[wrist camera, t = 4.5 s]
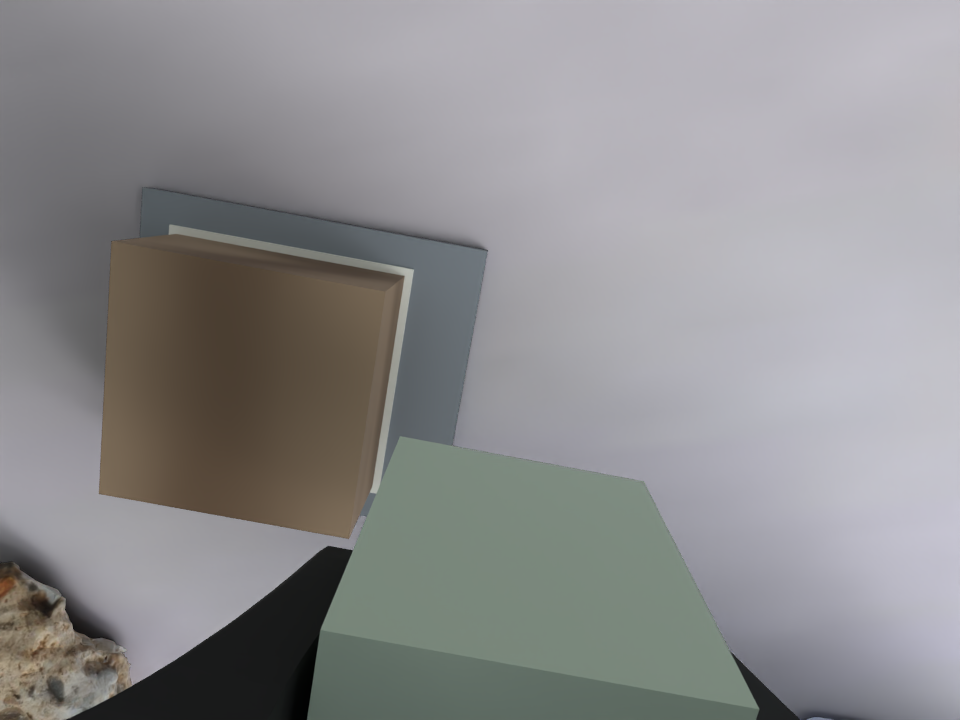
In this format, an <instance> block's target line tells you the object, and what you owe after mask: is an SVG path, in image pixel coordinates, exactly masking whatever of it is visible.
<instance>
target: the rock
mask: <svg viewBox="0 0 960 720" xmlns="http://www.w3.org/2000/svg"><path fill="white" fill-rule="evenodd" d="M65 603H66V598H64V597H62V596H61V594H60V592H59V591H58V590H57V589H55V588H53V587H50V586H47V585H45V584H42V583H39V582H38V581H36V580H34V579H32V578H31V577H30V576H28V575H27V574H26V573H24V572H23V571H21V570H20V569H19V566H18V565H17V564H15V563H14V562H7V563H0V720H66V719H68V718H70V717H73V716H75V715H77V714H79V713H81V712H83V711H85V710H87V709H90V708H92V707H94V706H96V705H98V704H99V703H101V702H103V701H105V700H107V699H109V698H111V697H113V696H115V695H116V694H118V693H120V692H122V691H124V690H125V689H127V688H129V687H131V686H132V683H131V680H130V672H129V669H130V665H131V664H130V663H128V661H127V658H126V657H125V656H124V654H122V653H121V652H125V651H126V649H125V648H123V647H121V646H119V645H118V646H117V645H116V644H115V642H114V641H111V640H108V639H104V638H97V639H91V638H88V637H87V636H86V635H84V634H81V633H78V632H76V631H75V630H73V626H72V623H71V622H70V621H69V616H68V615H67V613H66V611H65Z"/></svg>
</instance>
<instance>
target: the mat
mask: <svg viewBox="0 0 960 720" xmlns="http://www.w3.org/2000/svg"><path fill="white" fill-rule="evenodd" d="M170 234H180V235H186V236H191V237H197V238H202V239H207V240H213V241H218V242H224V243H229V244H234V245H240V246H245V247H251V248H256V249H262V250H267V251H272V252H278V253H283V254H289V255H294V256H299V257H305V258H310V259H316V260H321V261H326V262H332V263H337V264H343V265H348V266H354V267H359V268H364V269H370V270H375V271H381V272H386V273H391V274H397V275H402V276H405V278H404V284H403V291H402V297H401V304H400V310H399V317H398V323H397V330H396V336H395V343H394V349H393V356H392V362H391V369H390V375H389V382H388V388H387V394H386V401H385V407H384V414H383V420H382V427H381V433H380V440H379V446H378V453H377V459H376V466H375V472H374V479H373V485H372V488H371V490H370V493H369V495H368V497H367V499H366V502H365V504H364V506H363V508H362V511H361V513H360V515H361V516H367V515H368V513H369V511H370V508H371V506H372V503H373V501H374V498H375V496H376V494H377V491H378V489H379V486H380V484H381V481H382V479H383V476H384V474H385V472H386V469H387V467H388V464H389V462H390V459H391V457H392V455H393V452H394V450H395V447H396V445H397V442H398V440H399V438H400V436H402V437H407V438H413V439H418V440H423V441H429V442H434V443H440V444H445V445H450V446H452V444H453V439H454V433H455V428H456V422H457V417H458V411H459V406H460V400H461V395H462V389H463V384H464V378H465V373H466V367H467V362H468V356H469V351H470V345H471V340H472V334H473V329H474V323H475V318H476V312H477V307H478V301H479V296H480V290H481V285H482V279H483V274H484V268H485V263H486V257H487V252H488V250H484V249H478V248H473V247H467V246H462V245H457V244H451V243H446V242H440V241H435V240H430V239H424V238H419V237H413V236H408V235H403V234H397V233H392V232H386V231H381V230H376V229H370V228H365V227H360V226H354V225H349V224H343V223H338V222H333V221H327V220H322V219H316V218H311V217H306V216H300V215H295V214H289V213H284V212H279V211H273V210H268V209H262V208H257V207H252V206H246V205H241V204H236V203H230V202H225V201H219V200H214V199H209V198H203V197H198V196H192V195H187V194H182V193H176V192H171V191H165V190H160V189H155V188H143V189H142V205H141V222H140V238H144V237H153V236H161V235H170Z"/></svg>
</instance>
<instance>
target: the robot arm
mask: <svg viewBox="0 0 960 720" xmlns="http://www.w3.org/2000/svg"><path fill="white" fill-rule="evenodd" d="M352 552H353V550H348V549H342V548H337V547H331V546H327V547H326V548H324V549H322V550H321V551H319V552H318V553H317V554H316V555H315V556H314V557H312V558H311V559H310V560H309V561H308V562H307V563H305V564H304V565H303V566H302V567H301V568H300V569H298V570H297V571H296V572H295V573H294V574H292V575H291V576H290V577H289V578H288V579H286V580H285V581H284V582H283V583H282V584H280V585H279V586H278V587H277V588H275V589H274V590H273V591H272V592H270V593H269V594H268V595H266V596H265V597H264V598H263V599H261V600H260V601H259V602H257V603H256V604H255V605H253V606H252V607H251V608H249V609H248V610H247V611H246V612H244V613H243V614H242V615H240V616H239V617H238V618H236V619H235V620H234V621H232V622H231V623H229V624H228V625H227V626H225V627H224V628H222V629H221V630H219V631H218V632H216V633H215V634H213V635H212V636H210V637H209V638H208V639H206V640H205V641H203V642H202V643H200V644H199V645H197V646H196V647H194V648H193V649H191V650H190V651H188V652H187V653H185V654H184V655H182V656H181V657H179V658H178V659H176V660H175V661H173V662H171V663H170V664H168V665H167V666H165V667H163V668H162V669H160V670H158V671H157V672H155V673H153V674H152V675H150V676H148V677H147V678H145V679H143V680H142V681H140V682H138V683H136V684H134V685H133V686H131V687H129V688H127V689H125V690H124V691H122V692H120V693H118V694H116V695H115V696H113V697H111V698H109V699H107V700H105V701H103V702H101V703H99V704H98V705H96V706H94V707H92V708H90V709H87V710H85V711H83V712H81V713H79V714H77V715H75V716H73V717H70V718H68V719H66V720H307V716H308V709H309V703H310V696H311V689H312V683H313V676H314V669H315V663H316V656H317V649H318V643H319V636H320V630H321V627H322V625H323V622H324V620H325V618H326V615H327V613H328V610H329V608H330V605H331V603H332V601H333V598H334V596H335V593H336V591H337V588H338V586H339V584H340V581H341V579H342V576H343V574H344V571H345V569H346V566H347V564H348V562H349V559H350V557H351V554H352ZM731 654H732V653H731ZM732 656H733V658H734V660H735V662H736V664H737V666H738V668H739V670H740V672H741V674H742V676H743V678H744V680H745V682H746V684H747V686H748V688H749V690H750V692H751V694H752V696H753V698H754V700H755V702H756V704H757V705H758V707H759V712H758V715H757V718H756V720H800V719H799V718H798V717H797V716H796V715H795V714H794V713H793V712H791V711H790V710H789V709H788V708H787V707H786V706H785V705H784V704H783V703H782V702H781V701H780V700H779V699H778V698H777V697H776V696H775V695H774V694H773V693H772V692H771V691H770V690H769V689H768V688H767V687H766V686H765V685H764V684H763V683H762V682H761V681H760V680H759V679H758V678H757V677H756V676H755V675H754V674H753V673H751V672H750V671H749V670H748V669H747V668H746V667H745V666H744V665H743V664H742V663H741V662H740V661H739V660H738V659H737V658H736V657H735V656H734V655H733V654H732ZM807 720H832V719H826V718H821V717H813V718H810V719H807Z"/></svg>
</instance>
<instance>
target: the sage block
mask: <svg viewBox="0 0 960 720" xmlns="http://www.w3.org/2000/svg"><path fill="white" fill-rule="evenodd" d="M758 712H759V707H758V705H757V704H756V702H755V700H754V698H753V696H752V694H751V692H750V690H749V688H748V686H747V684H746V682H745V680H744V678H743V676H742V674H741V672H740V670H739V668H738V666H737V664H736V662H735V660H734V658H733V656H732V654H731V652H730V650H729V648H728V646H727V645H726V643H725V641H724V639H723V637H722V635H721V633H720V631H719V629H718V627H717V625H716V623H715V621H714V619H713V617H712V615H711V613H710V611H709V609H708V607H707V605H706V603H705V601H704V599H703V597H702V595H701V593H700V591H699V589H698V588H697V586H696V584H695V582H694V580H693V578H692V576H691V574H690V572H689V570H688V568H687V566H686V564H685V562H684V560H683V558H682V556H681V554H680V552H679V550H678V548H677V546H676V544H675V542H674V540H673V538H672V536H671V534H670V532H669V530H668V529H667V527H666V525H665V523H664V521H663V519H662V517H661V515H660V513H659V511H658V509H657V507H656V505H655V503H654V501H653V499H652V497H651V495H650V493H649V491H648V489H647V487H646V485H645V483H644V481H638V480H633V479H628V478H622V477H617V476H611V475H606V474H601V473H595V472H590V471H585V470H579V469H574V468H568V467H563V466H558V465H552V464H547V463H542V462H536V461H531V460H525V459H520V458H515V457H509V456H504V455H499V454H493V453H488V452H482V451H477V450H472V449H466V448H461V447H456V446H450V445H445V444H440V443H434V442H429V441H423V440H418V439H413V438H407V437H402V436H400V438H399V440H398V442H397V445H396V447H395V450H394V452H393V455H392V457H391V459H390V462H389V464H388V467H387V469H386V472H385V474H384V476H383V479H382V481H381V484H380V486H379V489H378V491H377V494H376V496H375V498H374V501H373V503H372V506H371V508H370V511H369V513H368V515H367V518H366V520H365V523H364V525H363V528H362V530H361V532H360V535H359V537H358V540H357V542H356V545H355V547H354V549H353V552H352V554H351V557H350V559H349V562H348V564H347V566H346V569H345V571H344V574H343V576H342V579H341V581H340V584H339V586H338V588H337V591H336V593H335V596H334V598H333V601H332V603H331V605H330V608H329V610H328V613H327V615H326V618H325V620H324V622H323V625H322V627H321V630H320V636H319V643H318V649H317V656H316V663H315V669H314V676H313V683H312V689H311V696H310V703H309V709H308V716H307V720H756V718H757V715H758Z"/></svg>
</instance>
